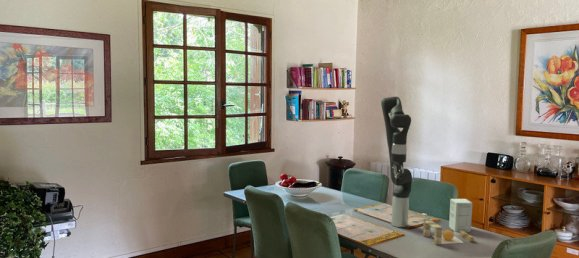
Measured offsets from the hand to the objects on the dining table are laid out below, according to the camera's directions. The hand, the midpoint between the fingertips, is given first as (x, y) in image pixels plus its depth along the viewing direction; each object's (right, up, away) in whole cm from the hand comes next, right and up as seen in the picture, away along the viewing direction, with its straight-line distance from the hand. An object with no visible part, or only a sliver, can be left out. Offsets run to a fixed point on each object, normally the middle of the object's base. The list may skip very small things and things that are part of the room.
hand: (397, 185), depth 238 cm
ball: (+27, -27, +2) cm, 38 cm away
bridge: (+19, -29, +2) cm, 35 cm away
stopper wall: (+38, -30, +5) cm, 49 cm away
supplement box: (+41, -28, +22) cm, 54 cm away
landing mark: (+28, -29, +4) cm, 41 cm away
